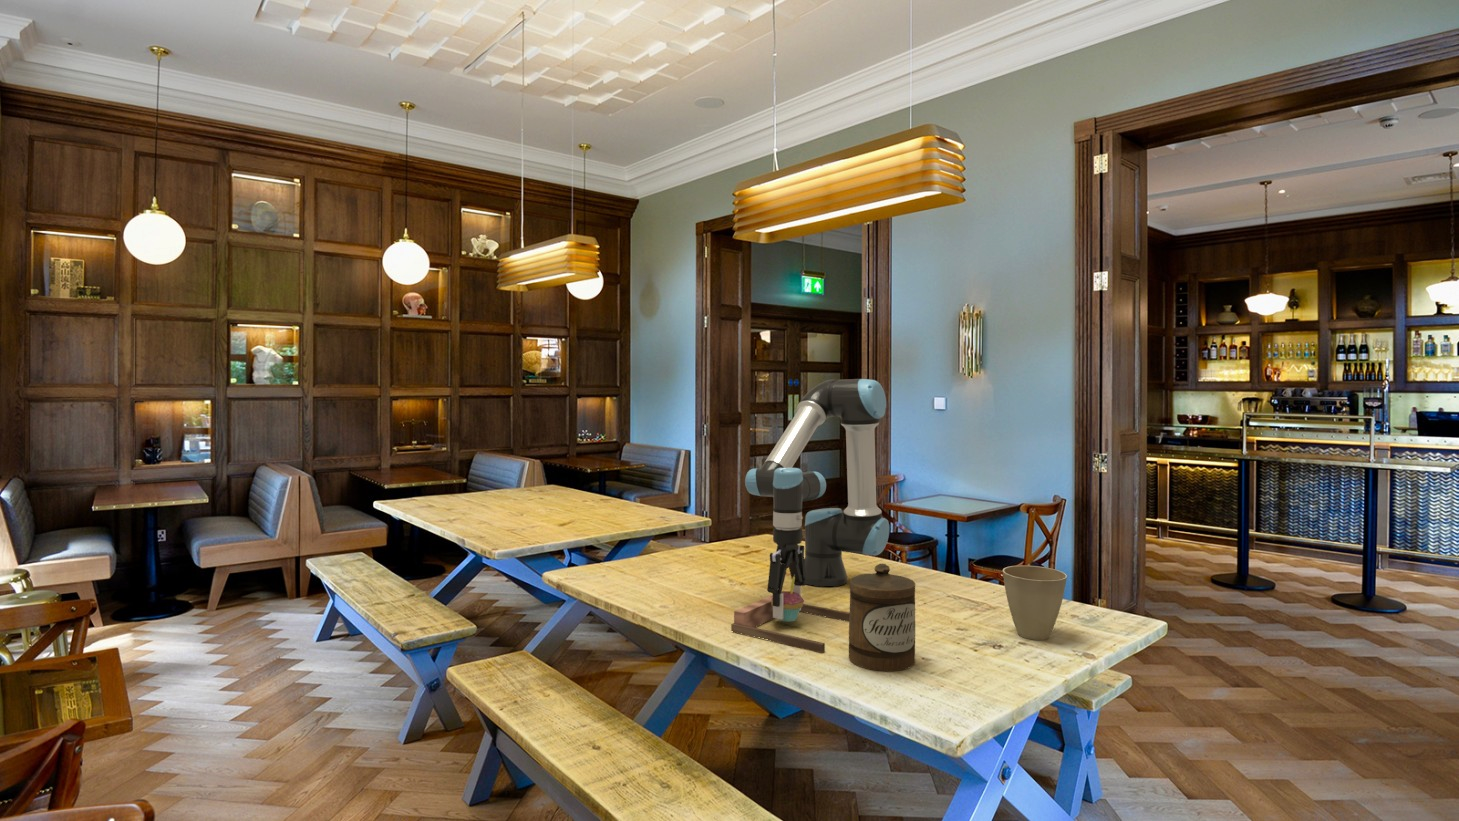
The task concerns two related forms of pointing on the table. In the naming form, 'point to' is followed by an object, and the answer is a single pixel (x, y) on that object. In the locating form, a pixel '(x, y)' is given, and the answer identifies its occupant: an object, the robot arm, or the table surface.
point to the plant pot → (1034, 599)
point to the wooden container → (882, 621)
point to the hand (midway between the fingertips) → (787, 613)
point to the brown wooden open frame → (763, 612)
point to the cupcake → (791, 604)
